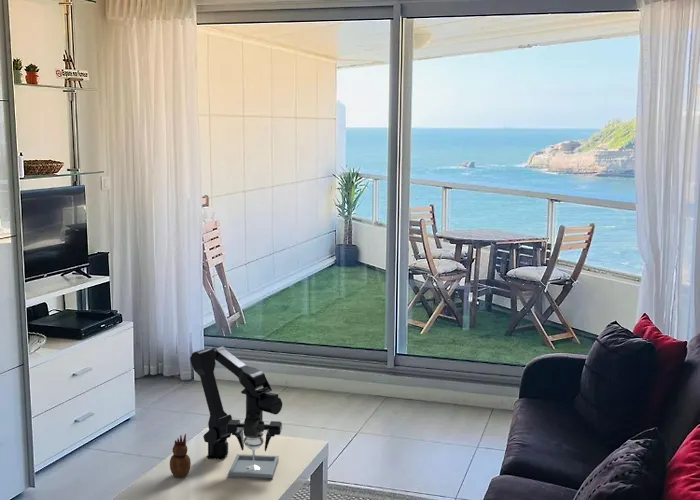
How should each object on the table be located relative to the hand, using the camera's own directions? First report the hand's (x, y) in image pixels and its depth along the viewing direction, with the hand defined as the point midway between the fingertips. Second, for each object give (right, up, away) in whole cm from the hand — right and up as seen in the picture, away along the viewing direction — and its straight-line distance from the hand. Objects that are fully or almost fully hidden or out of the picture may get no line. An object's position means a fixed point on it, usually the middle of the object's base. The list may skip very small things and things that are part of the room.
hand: (254, 450), depth 265 cm
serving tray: (0, -7, +1) cm, 7 cm away
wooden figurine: (-24, -7, -5) cm, 26 cm away
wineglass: (0, -6, +1) cm, 6 cm away
